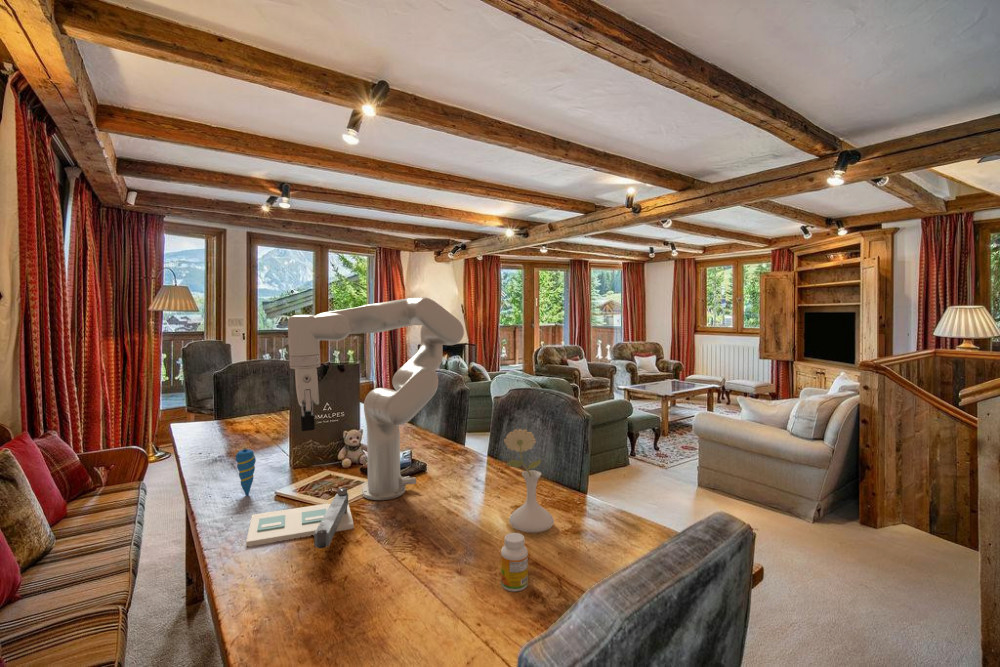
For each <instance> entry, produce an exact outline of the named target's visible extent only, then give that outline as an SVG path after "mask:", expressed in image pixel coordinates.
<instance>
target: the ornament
mask: <svg viewBox="0 0 1000 667" xmlns="http://www.w3.org/2000/svg"><path fill="white" fill-rule="evenodd" d="M235 460H236V462H237V465H236V468H237V469H238V477H239V479H240V486H241V488H242V490H243V492H244V494H245V496H249V494H250V492H251V487H252V485H253V482H254V473H255V470H256V467H255V464H256V461H257V459H256V455H255V452H254V451H253V450H252V449H248V448H247V446H246V445H244V446H243V448H242V449H241V450H239V451H238V452H237V453H236V455H235Z"/></svg>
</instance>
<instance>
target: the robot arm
mask: <svg viewBox="0 0 1000 667" xmlns="http://www.w3.org/2000/svg"><path fill="white" fill-rule="evenodd" d="M410 326H421V327H420V346H419V349H418V350H417V352H415V353H414V355H413V356H412V357H410V359H408V360H407V362H405V363H404V364H403V365H402V366H401V367H400V368H398V369H397V371H396V372H395V373H394V375H393V377H392V379H391V380H392V381H391V383H392V387H393V388H394V389H391V388H387V387H377V388H374V389H371V390H370V391H369V392H368V393H367V395H366V396H365V399H364V401H363V412H364V419H365V424H366V437H367V439H366V444H367V445H366V446H367V447H366V448H367V449H366V450H367V451H366V452H367V453H366V454H367V457H366V458H367V486H365V487H363V489H362V493H363V494H362V496H363V497H364V498H365V499H366V500H367V499H368V500H371V501H372V500H373V501H387V500H388V501H389V500H393V499H396V498H399V497H401V496H402V495H404V494H405V492H406V485H415V484H417V478H416V477H415V476H414V477H411V476H410V475H408V476H402V475H401V435H400V434H401V433H400V432H401V431H400V426H402V425H406V424H407V423H408V422H410V421H411V420H412V419H413V418H414V417H415V416H416V415H417V414H418V413H419V412H420V411H421V410H422V409H423V408H424V407H425V406H426V405H427V404H428V402H429V401H430V400H431V399H432V398H433V397H434V396H435V395H436V393H437V390H438V387H439V377H438V374H437V372H436V371H437V370H438V368H440V366H441V364H442V361H443V356H444V353H443V350H444V349H443V346H454V345H457V344H458V343H460V342H461V341H462V339H463V337H464V334H465V331H464V330H465V329H464V326H463V324H462V322H461V321H460V320H459V319H458V318H457V317H455V316H454V315H453V314H452V313H450V312H449V311H448V309H447V310H446V309H445V308H444V307H443V306H442V305H440V304H439V303H438V302H436V301H435V300H433V299H431V298H429V297H407V298H402V299H395V300H389V301H384V302H378V303H377V302H376V303H371V304H365V305H361V306H357V307H352V308H351V307H350V308H345V309H337V310H331V311H325V312H320V313H317V314H316V315H314V314H296V315H291V316H289V317H288V318H287V334H288V335H287V336H288V355H289V356H288V357H289V369H292V370H294V377H295V388H296V396H297V397H296V398H297V402H298V405H299V406H300V408H301V415H300V425H301V428H300V429H301V431H302V432H309V431H315V429H316V428H315V425H316V424H315V414H314V404H315V405H316V406H317V405H319V404H320V395H319V380H318V369H317V368H319V367H321V349H320V348H321V347H320V346H321V345H320V341H327V342H328V341H329V342H340V341H342V340H345V339H346V338H347V337H348V336H349V335H351V334H374V333H375V334H377V333H384V332H387V331H392V330H396V329H401V328H406V327H407V328H408V327H410Z"/></svg>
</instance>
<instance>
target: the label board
mask: <svg viewBox="0 0 1000 667" xmlns="http://www.w3.org/2000/svg"><path fill="white" fill-rule="evenodd" d="M329 506H330V504H328V503H323V504H316V505H310V506H309V505H308V506H302V507H296V508H295V507H294V508H289V509H287V508H286V509H282V510H275V511H269V512H262V513H261V512H260V513H255V514H252V515H251V519H250V523H249V528H248V533H247V536H246V541H245V543H246V544H245V545H246V546H249V547H253V546H252V545H255V546H260V545H265V544H271V543H277V541H278V542H283V540H284V541H289V539H290V540H294V538H296V539H300V537H301V538H306V536H307V537H312V536H311V535H313V536H314V533H315V531H316V530H317V528H318V526H319V524H320V522H321V521H322V519H323V517H324V515H325V513H326V512H327V510H328V508H329ZM353 529H355V526H354V519H353V516H352V513H351V508H350V504H349V503H348V506H347V512H346V513H344V515H343V517H342V519H341V521H340V523H339V525H338V528H337V530H336V532H342V531H347V530H353ZM336 532H335V533H336ZM259 544H260V545H259Z"/></svg>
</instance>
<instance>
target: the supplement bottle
mask: <svg viewBox="0 0 1000 667" xmlns="http://www.w3.org/2000/svg"><path fill="white" fill-rule="evenodd" d="M525 543H526V542H525V536H524V535H523V534H522V533H519V532H510V533H507V534H506V535H505V536H504V545H503V546H502V548H501V549H500V585H501V587H502V588H503V589H504V590H506V591H508V592H512V593H513V592H515V593H516V592H520V591H523V590H525V589H526V588H527V587H528V582H529V581H528V580H529V573H528V572H529V566H528V565H529V563H528V562H529V554H528V553H529V551H528V548H527V547H526V546H525Z"/></svg>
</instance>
